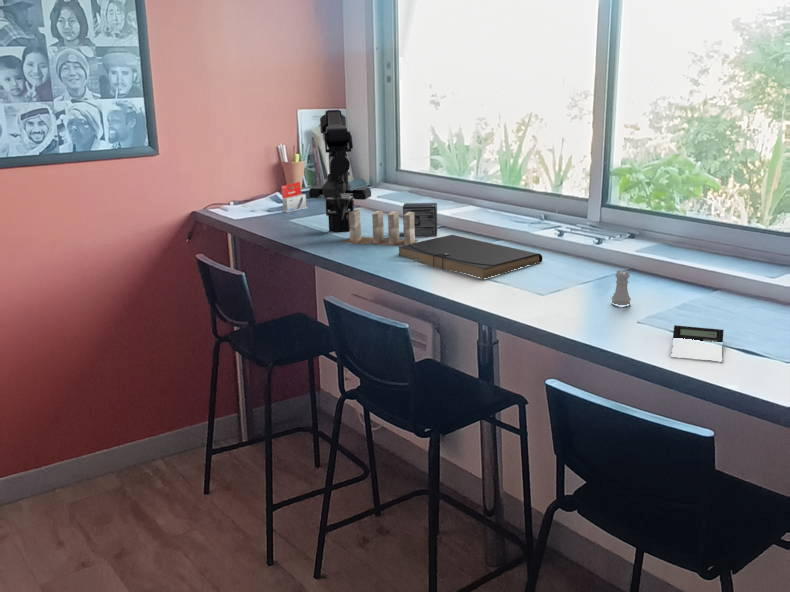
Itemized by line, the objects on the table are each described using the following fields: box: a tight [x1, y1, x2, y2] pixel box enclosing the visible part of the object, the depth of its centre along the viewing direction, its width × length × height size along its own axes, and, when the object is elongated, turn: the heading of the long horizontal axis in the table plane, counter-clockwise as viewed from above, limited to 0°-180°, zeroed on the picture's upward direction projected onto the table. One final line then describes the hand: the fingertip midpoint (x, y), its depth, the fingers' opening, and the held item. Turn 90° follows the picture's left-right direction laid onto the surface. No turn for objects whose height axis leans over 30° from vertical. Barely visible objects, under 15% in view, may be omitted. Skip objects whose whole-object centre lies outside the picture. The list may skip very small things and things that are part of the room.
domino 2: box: [371, 210, 385, 243], centre depth 248 cm, size 2×5×9 cm, turn 162°
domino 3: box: [387, 210, 400, 244], centre depth 247 cm, size 2×5×9 cm, turn 162°
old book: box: [398, 234, 543, 280], centre depth 228 cm, size 33×4×24 cm
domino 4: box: [403, 212, 416, 245], centre depth 245 cm, size 2×5×9 cm, turn 162°
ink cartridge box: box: [280, 181, 307, 213], centre depth 302 cm, size 2×11×10 cm, turn 147°
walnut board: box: [342, 236, 419, 247], centre depth 249 cm, size 22×8×1 cm, turn 72°
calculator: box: [672, 325, 724, 343], centre depth 160 cm, size 9×12×3 cm
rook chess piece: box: [611, 269, 632, 305], centre depth 187 cm, size 4×4×8 cm
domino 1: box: [349, 209, 362, 242], centre depth 250 cm, size 2×5×9 cm, turn 162°
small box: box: [402, 202, 438, 238], centre depth 255 cm, size 11×6×10 cm, turn 84°
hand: (341, 220), depth 251 cm, fingers closed
